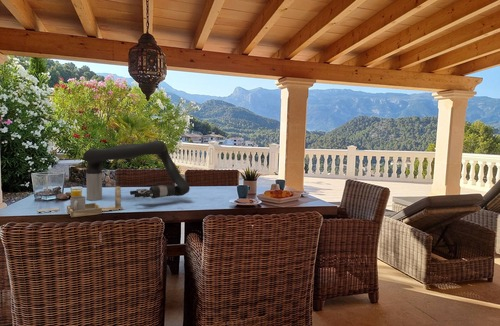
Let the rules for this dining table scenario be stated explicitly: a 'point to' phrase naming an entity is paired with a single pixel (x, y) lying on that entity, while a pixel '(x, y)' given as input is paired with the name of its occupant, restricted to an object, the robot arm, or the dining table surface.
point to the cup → (77, 203)
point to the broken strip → (48, 209)
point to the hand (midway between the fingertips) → (132, 194)
